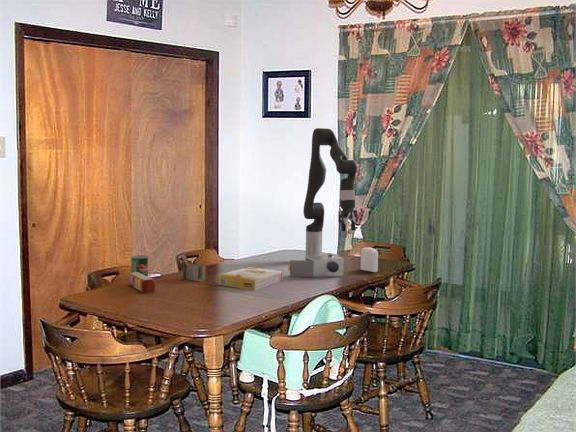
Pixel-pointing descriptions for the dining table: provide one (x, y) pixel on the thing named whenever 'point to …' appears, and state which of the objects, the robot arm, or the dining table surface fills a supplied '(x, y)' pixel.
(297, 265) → the side door
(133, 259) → the canned tomato
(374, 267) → the photo printer
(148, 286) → the snack package
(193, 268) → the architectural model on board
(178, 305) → the dining table surface
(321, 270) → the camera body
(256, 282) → the cereal box
